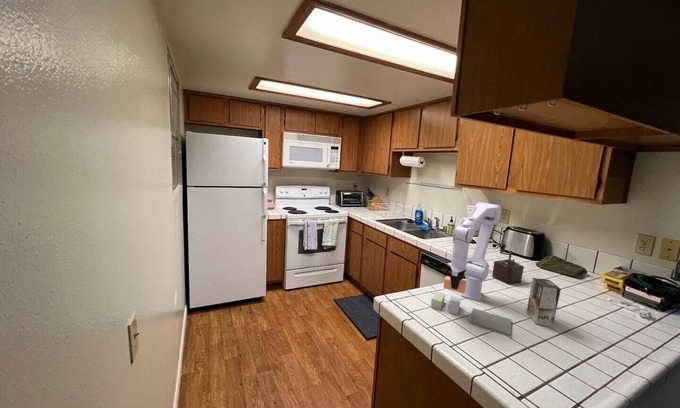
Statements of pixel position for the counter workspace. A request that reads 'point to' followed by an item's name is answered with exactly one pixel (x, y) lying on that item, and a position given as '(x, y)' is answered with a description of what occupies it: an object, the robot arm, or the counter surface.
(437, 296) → the sage brick
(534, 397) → the counter surface
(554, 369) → the counter surface
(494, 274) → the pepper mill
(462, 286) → the terracotta brick
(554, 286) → the coffee box
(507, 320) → the slate mat
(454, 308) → the blue brick
